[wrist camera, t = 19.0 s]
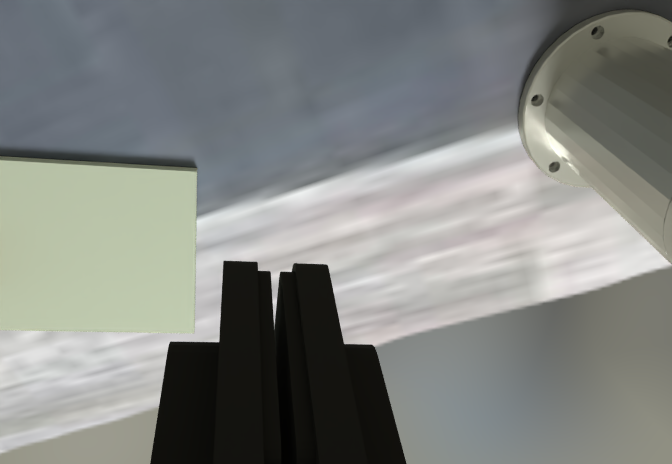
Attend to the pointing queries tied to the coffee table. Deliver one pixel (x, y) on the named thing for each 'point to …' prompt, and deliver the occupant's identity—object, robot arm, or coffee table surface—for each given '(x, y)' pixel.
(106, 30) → the coffee table surface
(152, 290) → the rubber mat
